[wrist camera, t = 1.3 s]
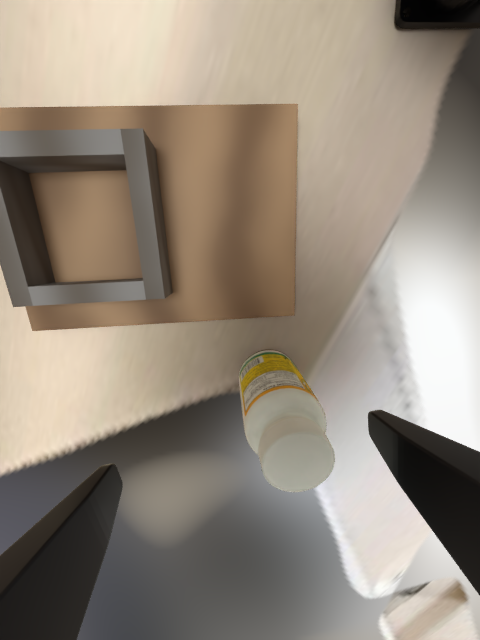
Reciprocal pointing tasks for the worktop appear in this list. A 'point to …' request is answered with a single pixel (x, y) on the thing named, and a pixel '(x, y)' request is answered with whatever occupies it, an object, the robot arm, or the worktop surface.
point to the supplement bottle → (284, 423)
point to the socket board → (148, 213)
